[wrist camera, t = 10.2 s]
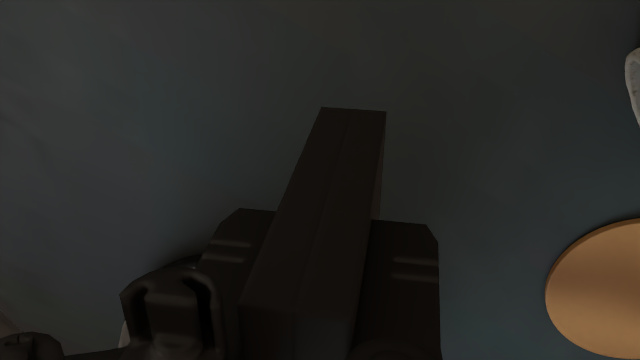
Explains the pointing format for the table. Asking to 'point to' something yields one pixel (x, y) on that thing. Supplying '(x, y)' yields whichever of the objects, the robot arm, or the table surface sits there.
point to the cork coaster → (599, 291)
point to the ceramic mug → (633, 80)
